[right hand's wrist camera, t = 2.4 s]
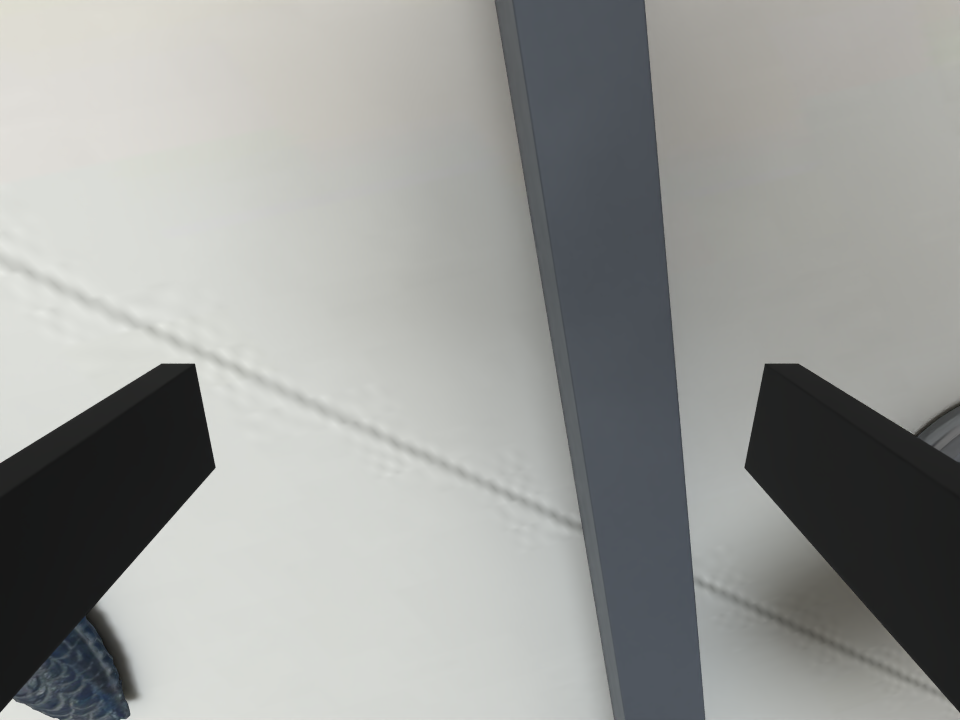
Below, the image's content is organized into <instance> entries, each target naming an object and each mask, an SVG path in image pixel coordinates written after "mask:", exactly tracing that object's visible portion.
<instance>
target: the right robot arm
mask: <svg viewBox="0 0 960 720" xmlns="http://www.w3.org/2000/svg"><path fill="white" fill-rule="evenodd" d="M214 469H215V463H214V457H213V452H212V447H211V442H210V437H209V432H208V427H207V422H206V417H205V412H204V407H203V402H202V397H201V392H200V387H199V382H198V377H197V372H196V367H195V364H160V365H159V366H157V367H155V368H154V369H152V370H151V371H149V372H147V373H146V374H144V375H142V376H141V377H139V378H138V379H136V380H134V381H133V382H131V383H130V384H128V385H126V386H125V387H123V388H121V389H120V390H118V391H117V392H115V393H113V394H112V395H110V396H108V397H107V398H105V399H104V400H102V401H100V402H99V403H97V404H96V405H94V406H92V407H91V408H89V409H87V410H86V411H84V412H83V413H81V414H79V415H78V416H76V417H74V418H73V419H71V420H70V421H68V422H66V423H65V424H63V425H61V426H60V427H58V428H57V429H55V430H53V431H52V432H50V433H49V434H47V435H45V436H44V437H42V438H40V439H39V440H37V441H36V442H34V443H32V444H31V445H29V446H27V447H26V448H24V449H23V450H21V451H19V452H18V453H16V454H14V455H13V456H11V457H10V458H8V459H6V460H5V461H3V462H2V463H0V712H1V711H2V710H3V709H4V708H5V706H6V705H7V704H8V703H9V702H10V701H11V700H12V699H13V697H14V696H15V695H16V694H17V693H18V692H19V691H20V689H21V688H22V687H23V686H24V685H25V684H26V683H27V681H28V680H29V679H30V678H31V677H32V676H33V675H34V674H35V672H36V671H37V670H38V669H39V668H40V667H41V666H42V664H43V663H44V662H45V661H46V660H47V659H48V658H49V656H50V655H51V654H52V653H53V652H54V651H55V650H56V649H57V647H58V646H59V645H60V644H61V643H62V642H63V641H64V639H65V638H66V637H67V636H68V635H69V634H70V633H71V631H72V630H73V629H74V628H75V627H76V626H77V625H78V624H79V622H80V621H81V620H82V619H83V618H84V617H85V616H86V614H87V613H88V612H89V611H90V610H91V609H92V608H93V606H94V605H95V604H96V603H97V602H98V601H99V600H100V599H101V597H102V596H103V595H104V594H105V593H106V592H107V591H108V589H109V588H110V587H111V586H112V585H113V584H114V583H115V581H116V580H117V579H118V578H119V577H120V576H121V575H122V574H123V572H124V571H125V570H126V569H127V568H128V567H129V566H130V564H131V563H132V562H133V561H134V560H135V559H136V558H137V556H138V555H139V554H140V553H141V552H142V551H143V550H144V548H145V547H146V546H147V545H148V544H149V543H150V542H151V541H152V539H153V538H154V537H155V536H156V535H157V534H158V533H159V531H160V530H161V529H162V528H163V527H164V526H165V525H166V523H167V522H168V521H169V520H170V519H171V518H172V517H173V516H174V514H175V513H176V512H177V511H178V510H179V509H180V508H181V506H182V505H183V504H184V503H185V502H186V501H187V500H188V498H189V497H190V496H191V495H192V494H193V493H194V492H195V491H196V489H197V488H198V487H199V486H200V485H201V484H202V483H203V481H204V480H205V479H206V478H207V477H208V476H209V475H210V473H211V472H212V471H213V470H214ZM745 469H746V470H747V471H748V472H749V473H750V475H751V476H752V477H753V478H754V479H755V480H756V481H757V483H758V484H759V485H760V486H761V487H762V488H763V489H764V491H765V492H766V493H767V494H768V495H769V496H770V497H771V498H772V500H773V501H774V502H775V503H776V504H777V505H778V506H779V508H780V509H781V510H782V511H783V512H784V513H785V514H786V516H787V517H788V518H789V519H790V520H791V521H792V522H793V523H794V525H795V526H796V527H797V528H798V529H799V530H800V531H801V533H802V534H803V535H804V536H805V537H806V538H807V539H808V541H809V542H810V543H811V544H812V545H813V546H814V547H815V549H816V550H817V551H818V552H819V553H820V554H821V555H822V556H823V558H824V559H825V560H826V561H827V562H828V563H829V564H830V566H831V567H832V568H833V569H834V570H835V571H836V572H837V574H838V575H839V576H840V577H841V578H842V579H843V580H844V581H845V583H846V584H847V585H848V586H849V587H850V588H851V589H852V591H853V592H854V593H855V594H856V595H857V596H858V597H859V599H860V600H861V601H862V602H863V603H864V604H865V605H866V606H867V608H868V609H869V610H870V611H871V612H872V613H873V614H874V616H875V617H876V618H877V619H878V620H879V621H880V622H881V624H882V625H883V626H884V627H885V628H886V629H887V630H888V631H889V633H890V634H891V635H892V636H893V637H894V638H895V639H896V641H897V642H898V643H899V644H900V645H901V646H902V647H903V649H904V650H905V651H906V652H907V653H908V654H909V655H910V656H911V658H912V659H913V660H914V661H915V662H916V663H917V664H918V666H919V667H920V668H921V669H922V670H923V671H924V672H925V674H926V675H927V676H928V677H929V678H930V679H931V680H932V681H933V683H934V684H935V685H936V686H937V687H938V688H939V689H940V691H941V692H942V693H943V694H944V695H945V696H946V697H947V699H948V700H949V701H950V702H951V703H952V704H953V705H954V706H955V708H956V709H957V710H958V711H959V712H960V406H958V407H957V408H955V409H953V410H951V411H950V412H948V413H947V414H945V415H944V416H942V417H941V418H939V419H938V420H936V421H935V422H934V423H933V424H931V425H930V426H929V427H928V428H926V429H925V430H924V431H923V432H922V433H921V434H920V435H919V436H918V437H916V436H915V435H913V434H911V433H910V432H908V431H907V430H905V429H903V428H902V427H900V426H899V425H897V424H895V423H894V422H892V421H890V420H889V419H887V418H886V417H884V416H882V415H881V414H879V413H877V412H876V411H874V410H873V409H871V408H869V407H868V406H866V405H864V404H863V403H861V402H860V401H858V400H856V399H855V398H853V397H852V396H850V395H848V394H847V393H845V392H843V391H842V390H840V389H839V388H837V387H835V386H834V385H832V384H830V383H829V382H827V381H826V380H824V379H822V378H821V377H819V376H818V375H816V374H814V373H813V372H811V371H809V370H808V369H806V368H805V367H803V366H801V365H800V364H765V367H764V372H763V377H762V382H761V387H760V392H759V397H758V402H757V407H756V412H755V417H754V422H753V427H752V432H751V437H750V442H749V447H748V452H747V457H746V463H745Z"/></svg>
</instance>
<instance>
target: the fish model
mask: <svg viewBox="0 0 960 720" xmlns="http://www.w3.org/2000/svg"><path fill="white" fill-rule="evenodd" d="M121 682H122V680H119V674H118V671H117V669H116V667H115V666H114V664H113V657H112V656H111V655H110V654H109V653H108V651H107V650H106V648H105V647H104V645H103V642H102V638H101V637H100V636H99V635H98V633H97V631H96V629H95V628H94V627H93V625H92V624H91V623H90V622H89V621H88V620H87V619H86V616H85V617H84V618H83V619H82V620H81V621H80V622H79V624H78V625H77V626H76V627H75V628H74V629H73V630H72V631H71V633H70V634H69V635H68V636H67V637H66V638H65V639H64V641H63V642H62V643H61V644H60V645H59V646H58V647H57V649H56V650H55V651H54V652H53V653H52V654H51V655H50V656H49V658H48V659H47V660H46V661H45V662H44V663H43V664H42V666H41V667H40V668H39V669H38V670H37V671H36V672H35V674H34V675H33V676H32V677H31V678H30V679H29V680H28V681H27V683H26V684H25V685H24V686H23V687H22V688H21V689H20V691H19V692H18V693H17V694H16V695H15V696H14V697H13V699H14V700H15V701H16V702H19V703H24V704H26V705H28V706H29V707H31V708H32V709H34V710H37V711H39V712H41V713H43V714H45V715H48V716H50V717H52V718H58V719H59V720H120V719H127V718H128V717H129V716H130V710H129V706H128V703H127V702H126V700H125V697H124V694H123V690H122V684H121Z"/></svg>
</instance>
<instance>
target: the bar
mask: <svg viewBox="0 0 960 720" xmlns="http://www.w3.org/2000/svg"><path fill="white" fill-rule="evenodd" d="M495 4H496V10H497V16H498V22H499V28H500V34H501V40H502V46H503V52H504V58H505V65H506V71H507V77H508V83H509V89H510V95H511V101H512V107H513V113H514V119H515V125H516V131H517V137H518V143H519V149H520V155H521V161H522V167H523V173H524V179H525V185H526V191H527V197H528V203H529V209H530V215H531V221H532V227H533V233H534V239H535V245H536V251H537V257H538V263H539V269H540V275H541V281H542V287H543V293H544V299H545V305H546V311H547V317H548V323H549V329H550V335H551V341H552V347H553V353H554V359H555V365H556V371H557V377H558V383H559V389H560V396H561V402H562V408H563V414H564V420H565V426H566V432H567V438H568V444H569V450H570V456H571V462H572V468H573V474H574V480H575V486H576V492H577V498H578V504H579V510H580V516H581V522H582V528H583V534H584V540H585V546H586V552H587V558H588V564H589V570H590V576H591V582H592V588H593V594H594V600H595V606H596V612H597V618H598V624H599V630H600V636H601V642H602V648H603V654H604V660H605V666H606V672H607V678H608V684H609V690H610V696H611V702H612V708H613V714H614V720H705V711H704V699H703V687H702V675H701V664H700V652H699V640H698V628H697V616H696V604H695V593H694V581H693V569H692V557H691V545H690V534H689V522H688V510H687V498H686V486H685V474H684V463H683V451H682V439H681V427H680V415H679V403H678V392H677V380H676V368H675V356H674V344H673V333H672V321H671V309H670V297H669V285H668V273H667V262H666V250H665V238H664V226H663V214H662V202H661V191H660V179H659V167H658V155H657V143H656V132H655V120H654V108H653V96H652V84H651V72H650V61H649V49H648V37H647V25H646V13H645V2H644V0H495Z"/></svg>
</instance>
